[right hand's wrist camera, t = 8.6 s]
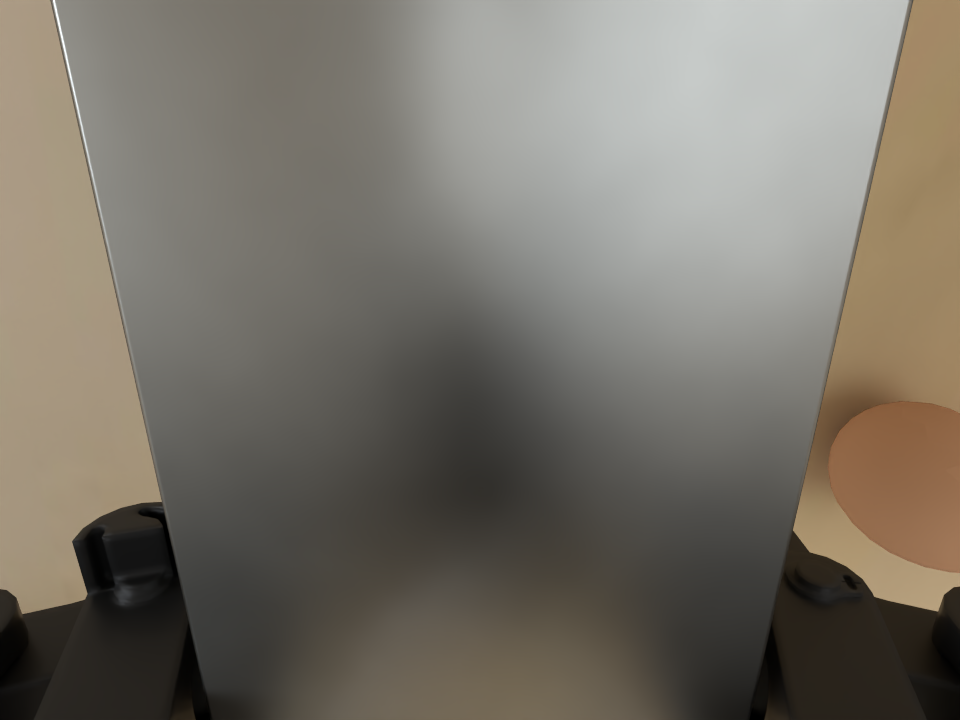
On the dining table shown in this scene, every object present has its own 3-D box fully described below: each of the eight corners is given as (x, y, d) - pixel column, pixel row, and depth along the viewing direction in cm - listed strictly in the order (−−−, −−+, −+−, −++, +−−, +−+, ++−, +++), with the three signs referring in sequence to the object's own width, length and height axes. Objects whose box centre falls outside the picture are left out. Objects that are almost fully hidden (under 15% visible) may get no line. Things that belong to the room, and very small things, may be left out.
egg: (801, 502, 29) (909, 632, 22) (794, 391, 27) (912, 493, 20) (931, 477, 29) (1087, 601, 21) (935, 361, 26) (1110, 455, 19)
